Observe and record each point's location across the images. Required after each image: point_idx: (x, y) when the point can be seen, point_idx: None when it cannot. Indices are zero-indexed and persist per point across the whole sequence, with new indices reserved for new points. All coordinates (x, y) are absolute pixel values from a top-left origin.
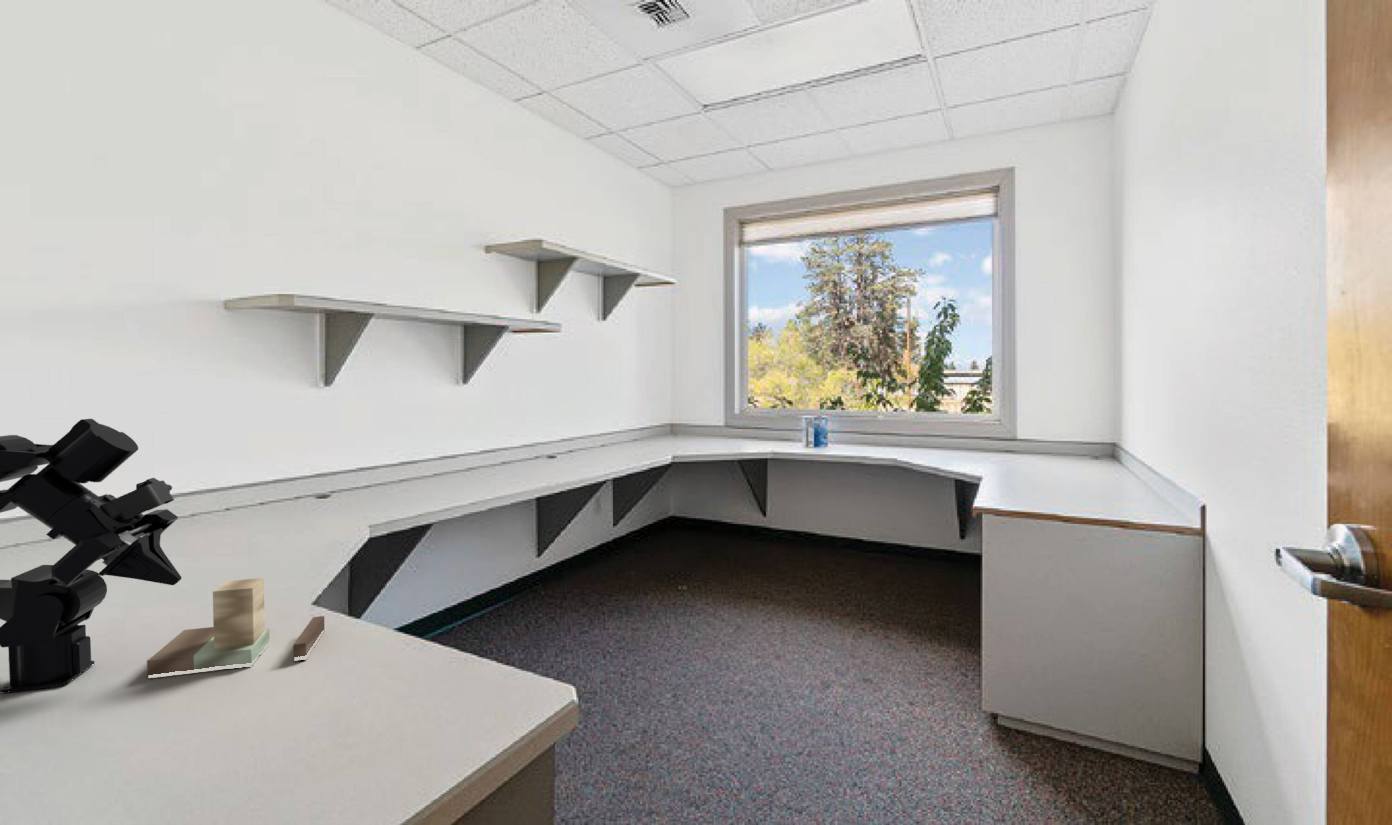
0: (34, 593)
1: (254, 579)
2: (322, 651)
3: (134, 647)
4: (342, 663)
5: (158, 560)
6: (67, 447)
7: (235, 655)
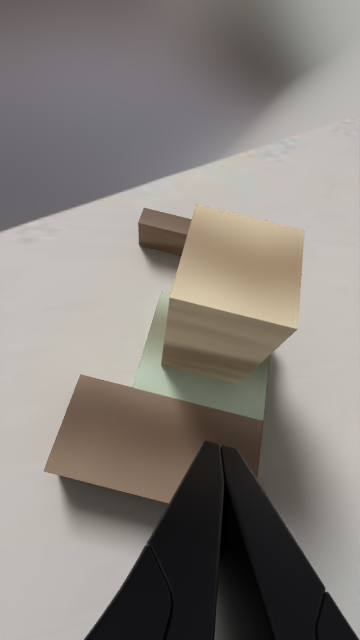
0: None
1: (199, 225)
2: None
3: None
4: (303, 223)
5: (295, 604)
6: None
7: None
